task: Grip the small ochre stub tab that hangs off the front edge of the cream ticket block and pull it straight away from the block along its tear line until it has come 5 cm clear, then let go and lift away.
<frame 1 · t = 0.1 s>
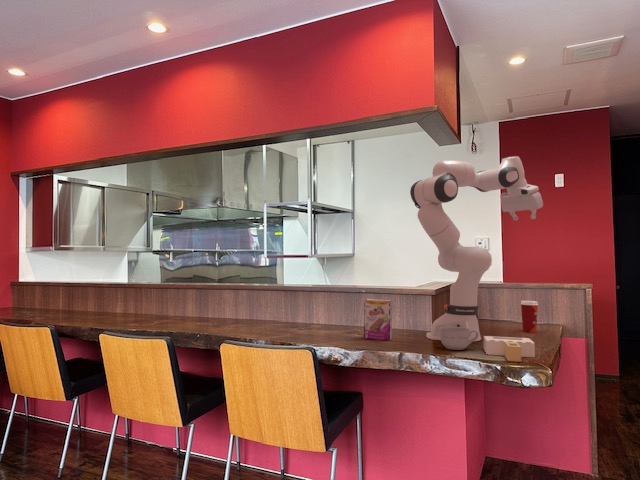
hand: (524, 219, 208), 52 cm above the countertop, tool tilted 20°, fingers open, 8 cm apart
teacup: (459, 349, 171), on the countertop
stub: (512, 351, 156), point 3 cm above the countertop, slide at 0.0 cm
candy bar box: (377, 339, 188), on the countertop
paper cup: (529, 331, 208), on the countertop
ticket block: (508, 353, 164), on the countertop
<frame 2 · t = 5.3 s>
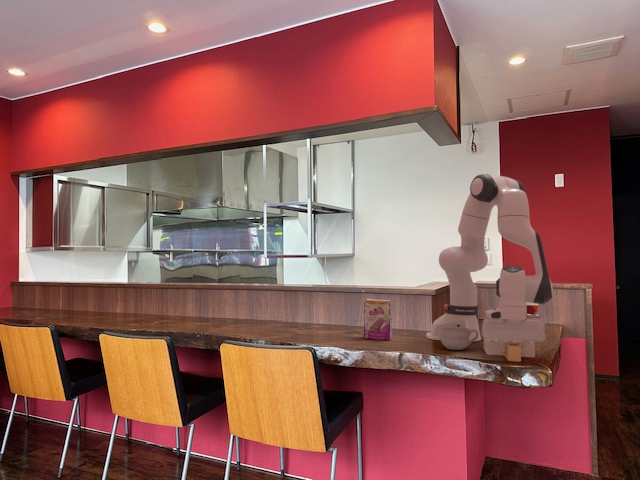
hand: (512, 353, 156), 2 cm above the countertop, tool pointing down, fingers closed on stub, 4 cm apart
stub: (512, 351, 156), point 3 cm above the countertop, slide at 0.0 cm, touching gripper
everything else where it was.
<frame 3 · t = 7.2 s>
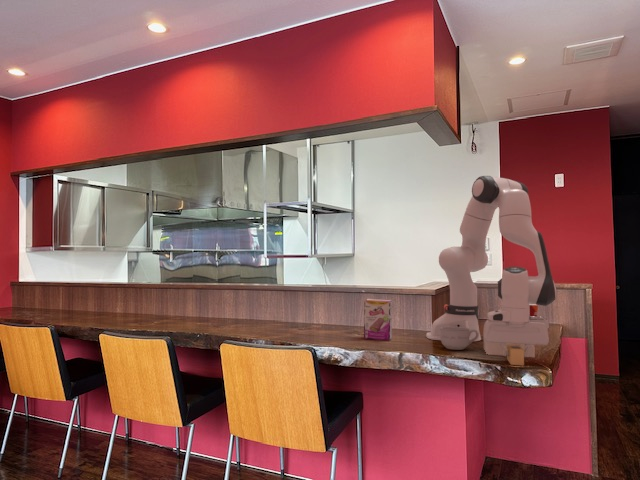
hand: (515, 356, 151), 2 cm above the countertop, tool pointing down, fingers closed on stub, 4 cm apart
stub: (515, 354, 151), point 3 cm above the countertop, slide at 5.0 cm, touching gripper
everything else where it was.
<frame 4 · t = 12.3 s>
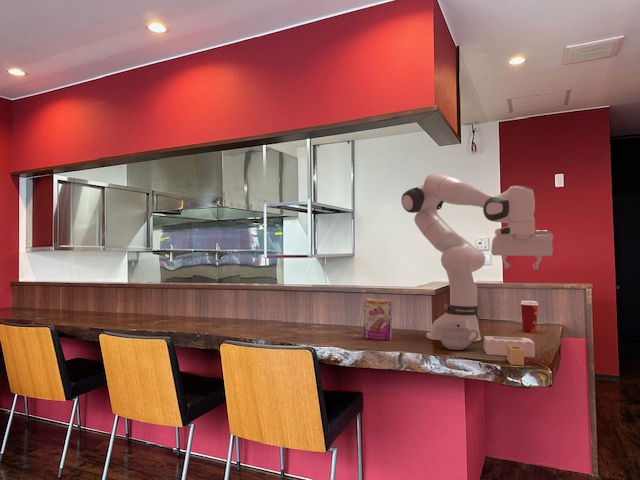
hand: (521, 268, 161), 31 cm above the countertop, tool pointing down, fingers open, 8 cm apart
stub: (515, 354, 151), point 3 cm above the countertop, slide at 5.0 cm
everything else where it was.
at the end: stub slide at 5.0 cm; the gripper is holding nothing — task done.
